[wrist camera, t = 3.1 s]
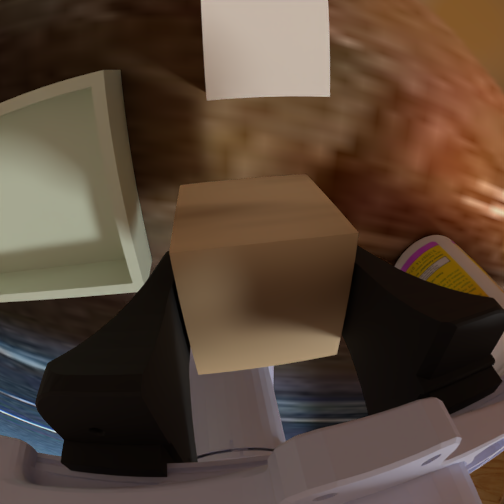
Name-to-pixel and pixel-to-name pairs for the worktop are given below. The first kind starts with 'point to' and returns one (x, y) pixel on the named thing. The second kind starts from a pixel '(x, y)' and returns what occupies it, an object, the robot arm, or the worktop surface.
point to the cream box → (265, 48)
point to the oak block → (261, 271)
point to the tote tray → (69, 193)
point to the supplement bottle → (452, 275)
